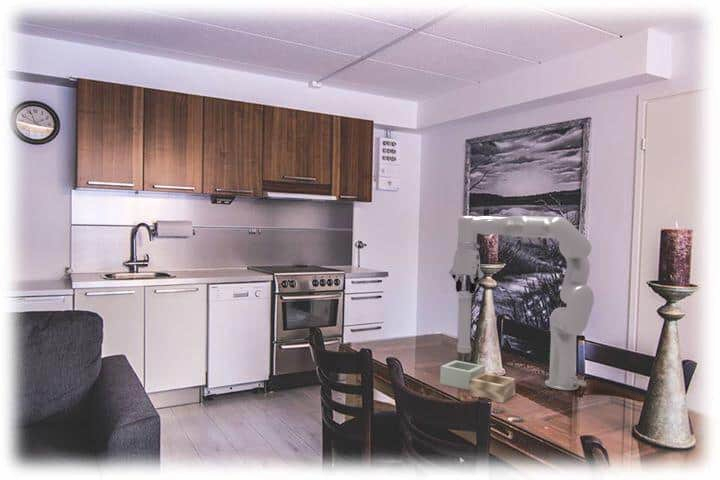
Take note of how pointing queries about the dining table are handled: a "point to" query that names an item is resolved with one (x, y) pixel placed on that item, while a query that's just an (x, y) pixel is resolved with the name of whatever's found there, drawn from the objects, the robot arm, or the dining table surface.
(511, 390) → the oak collar
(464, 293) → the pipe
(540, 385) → the dining table surface
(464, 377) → the holder block
